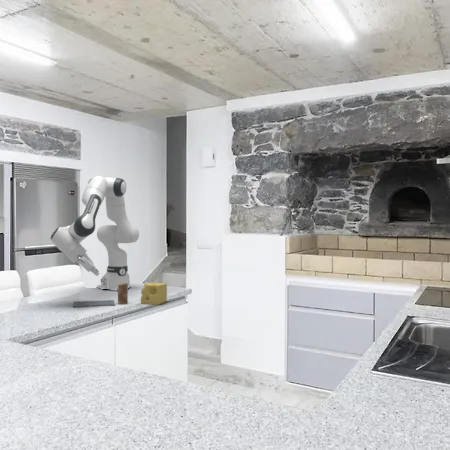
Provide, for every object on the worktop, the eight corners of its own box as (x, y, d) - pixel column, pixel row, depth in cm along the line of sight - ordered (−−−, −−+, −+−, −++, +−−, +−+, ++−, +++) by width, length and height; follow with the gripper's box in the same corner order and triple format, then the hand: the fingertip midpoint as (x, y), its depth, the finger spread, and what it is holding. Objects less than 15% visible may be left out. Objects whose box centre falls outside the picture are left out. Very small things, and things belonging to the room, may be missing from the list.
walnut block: (118, 304, 234) (118, 284, 233) (117, 302, 238) (118, 283, 238) (127, 303, 235) (127, 284, 235) (126, 302, 239) (126, 283, 239)
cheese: (140, 303, 236) (140, 284, 236) (149, 300, 247) (150, 281, 246) (159, 305, 233) (159, 285, 233) (167, 301, 244) (167, 282, 243)
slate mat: (72, 307, 224) (72, 306, 224) (73, 302, 236) (73, 301, 236) (114, 305, 230) (114, 304, 230) (113, 301, 242) (113, 300, 242)
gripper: (82, 251, 220) (103, 271, 223) (82, 248, 240) (101, 267, 243) (72, 261, 219) (93, 281, 222) (73, 257, 239) (93, 275, 242)
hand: (98, 273), depth 233 cm, fingers open, 8 cm apart
